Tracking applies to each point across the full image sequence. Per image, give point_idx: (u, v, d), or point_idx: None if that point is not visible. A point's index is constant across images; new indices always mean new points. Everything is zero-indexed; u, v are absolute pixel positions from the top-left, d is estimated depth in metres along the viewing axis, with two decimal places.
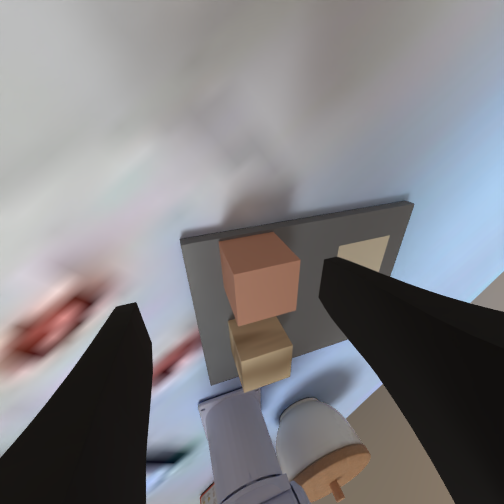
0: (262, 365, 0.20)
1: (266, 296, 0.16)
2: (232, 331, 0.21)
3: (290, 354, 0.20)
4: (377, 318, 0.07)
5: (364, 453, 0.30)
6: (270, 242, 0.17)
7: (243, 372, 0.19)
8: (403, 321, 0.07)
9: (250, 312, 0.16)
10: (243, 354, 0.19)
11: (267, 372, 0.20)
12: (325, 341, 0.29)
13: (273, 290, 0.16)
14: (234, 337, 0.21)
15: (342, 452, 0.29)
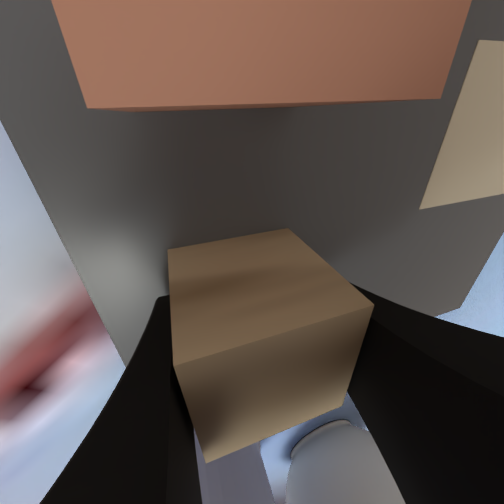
0: (262, 377, 0.05)
1: None
2: (172, 271, 0.07)
3: (359, 338, 0.06)
4: None
5: None
6: None
7: (192, 406, 0.05)
8: (365, 334, 0.06)
9: None
10: (188, 336, 0.05)
11: (279, 400, 0.06)
12: None
13: None
14: (172, 285, 0.06)
15: None
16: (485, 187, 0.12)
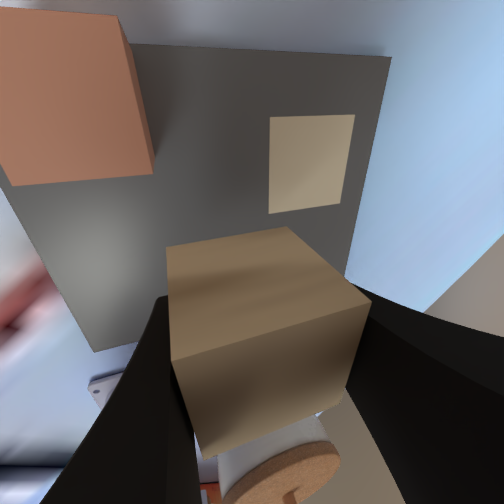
0: (260, 373, 0.05)
1: (59, 113, 0.07)
2: (170, 268, 0.07)
3: (358, 335, 0.06)
4: None
5: (329, 454, 0.22)
6: None
7: (190, 402, 0.05)
8: (365, 334, 0.06)
9: (31, 153, 0.08)
10: (186, 331, 0.05)
11: (276, 397, 0.06)
12: None
13: (72, 99, 0.07)
14: (171, 282, 0.06)
15: (296, 453, 0.21)
16: (319, 199, 0.18)
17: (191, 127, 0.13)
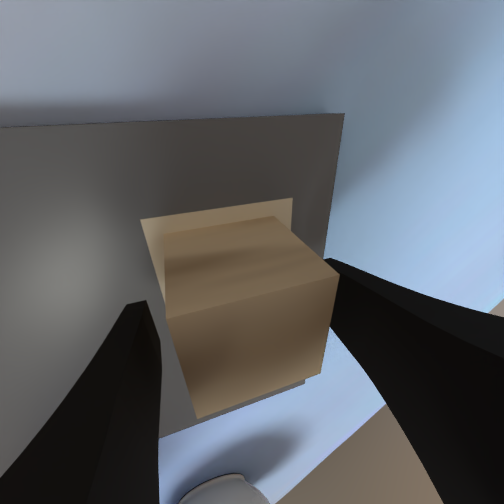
0: (243, 336, 0.06)
1: None
2: (167, 251, 0.08)
3: (330, 306, 0.07)
4: (369, 320, 0.07)
5: None
6: None
7: (183, 359, 0.06)
8: (394, 324, 0.06)
9: None
10: (179, 298, 0.06)
11: (260, 361, 0.07)
12: None
13: None
14: (167, 261, 0.07)
15: None
16: None
17: None
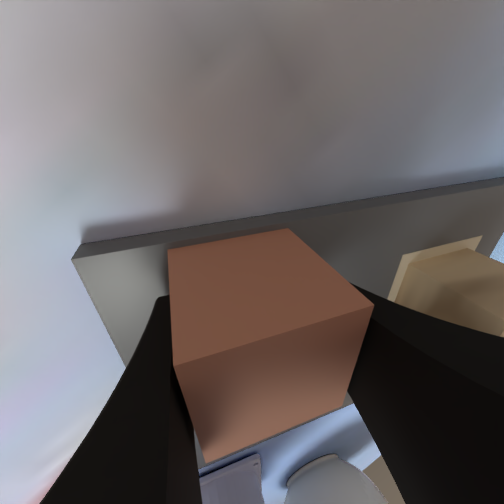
0: None
1: (278, 396, 0.06)
2: (433, 277, 0.12)
3: None
4: None
5: None
6: (284, 252, 0.08)
7: None
8: (365, 334, 0.06)
9: (236, 434, 0.06)
10: (497, 311, 0.10)
11: None
12: None
13: (296, 382, 0.06)
14: (447, 285, 0.11)
15: None
16: None
17: None
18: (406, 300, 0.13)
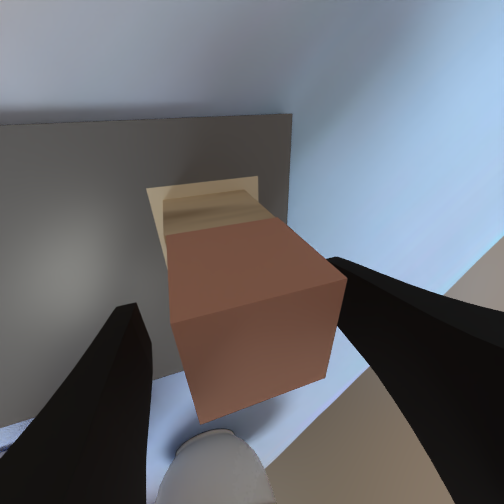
0: None
1: (264, 362, 0.07)
2: (165, 208, 0.11)
3: None
4: (376, 318, 0.07)
5: None
6: (272, 237, 0.08)
7: None
8: (403, 321, 0.07)
9: (227, 397, 0.07)
10: (172, 228, 0.09)
11: None
12: None
13: (280, 349, 0.07)
14: (165, 213, 0.11)
15: None
16: None
17: (43, 208, 0.11)
18: None
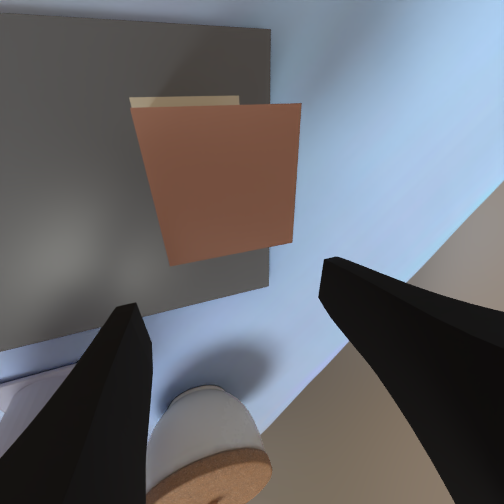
0: None
1: (227, 196, 0.07)
2: None
3: None
4: (377, 318, 0.07)
5: (250, 462, 0.21)
6: None
7: None
8: (403, 321, 0.07)
9: (194, 235, 0.08)
10: None
11: None
12: (186, 295, 0.20)
13: (241, 183, 0.07)
14: None
15: (211, 461, 0.20)
16: None
17: (29, 108, 0.11)
18: None
